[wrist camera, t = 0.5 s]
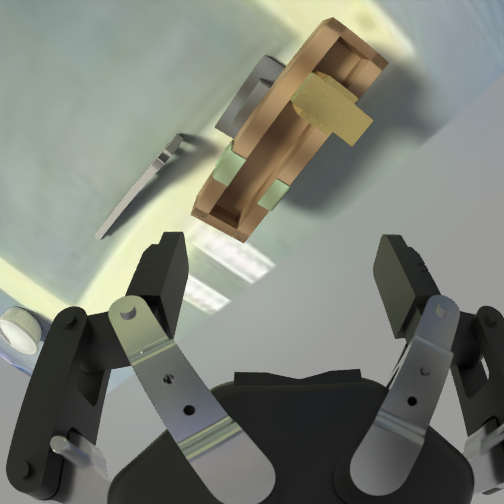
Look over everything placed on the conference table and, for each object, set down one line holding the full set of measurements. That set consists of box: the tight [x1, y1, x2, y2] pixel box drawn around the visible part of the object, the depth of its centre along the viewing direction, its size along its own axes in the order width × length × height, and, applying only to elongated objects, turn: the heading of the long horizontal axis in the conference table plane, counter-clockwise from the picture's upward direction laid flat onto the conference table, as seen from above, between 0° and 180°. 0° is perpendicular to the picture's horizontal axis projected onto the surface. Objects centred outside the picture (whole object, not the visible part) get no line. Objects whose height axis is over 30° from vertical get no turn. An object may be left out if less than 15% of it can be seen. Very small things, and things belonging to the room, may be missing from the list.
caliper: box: [95, 133, 183, 240], centre depth 37 cm, size 20×1×6 cm, turn 134°
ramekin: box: [0, 307, 42, 354], centre depth 54 cm, size 11×11×5 cm
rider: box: [289, 70, 374, 146], centre depth 22 cm, size 4×5×9 cm
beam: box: [191, 17, 388, 243], centre depth 30 cm, size 22×10×10 cm, turn 146°
